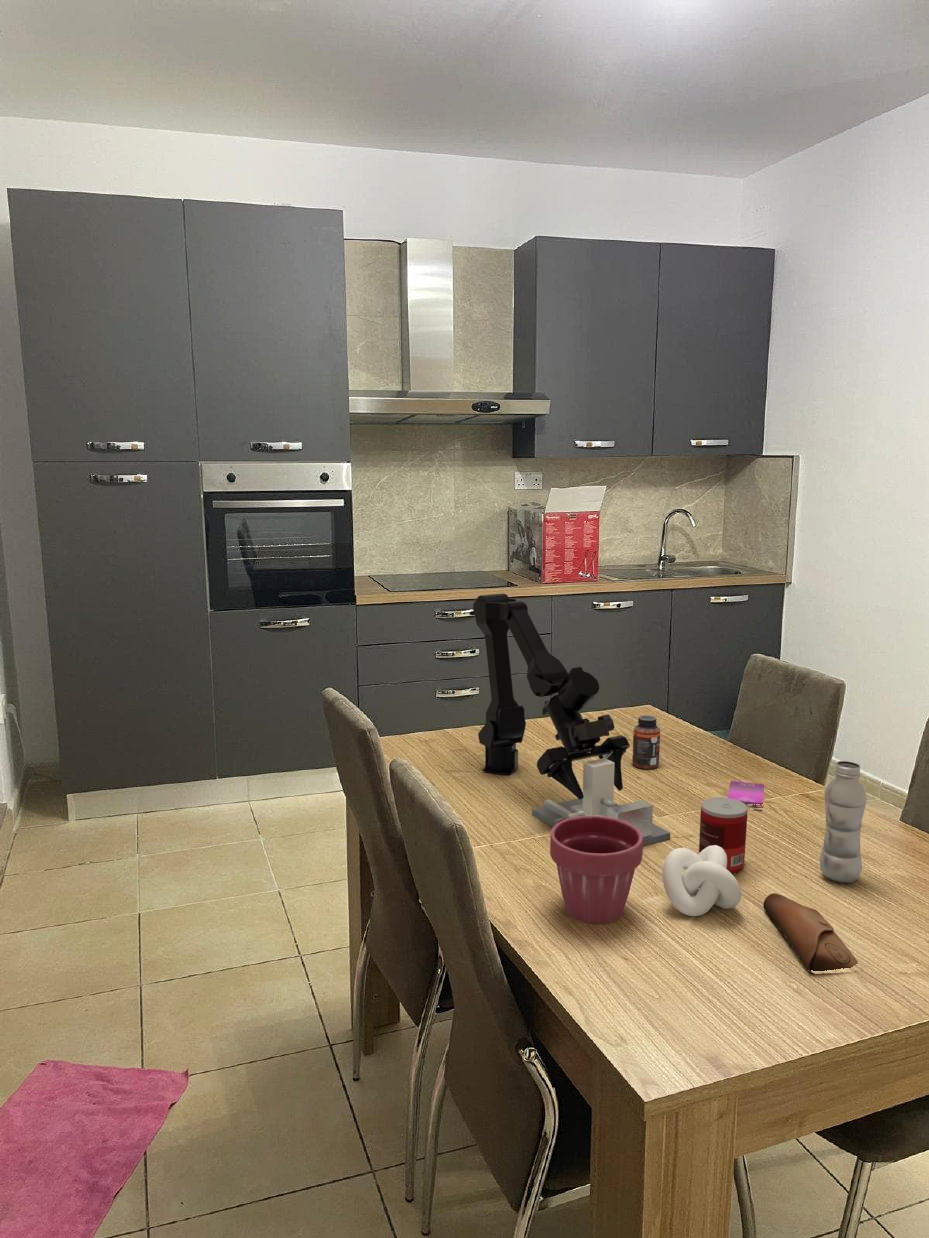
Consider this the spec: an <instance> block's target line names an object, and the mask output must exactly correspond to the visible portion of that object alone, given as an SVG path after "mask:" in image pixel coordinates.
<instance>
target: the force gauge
mask: <svg viewBox="0 0 929 1238" xmlns="http://www.w3.org/2000/svg"><path fill="white" fill-rule="evenodd" d="M614 764H615V763H614V762H612V761H610V760H608V759H606V758H603V759H593V760H589V761H584V762H583V768H582V772H583V773H582V774H583V775H582V792H583V796H584V798H583V804H579V805H575V806H571V807H570V812H572V814H568V816H569V817H574V816H604V817H607V811H608V808H610V807H614V806H615V804H616V803H615V802H614V796H615V795H614V794H615V791H614V790H615V789H614V788H615V785H614Z"/></svg>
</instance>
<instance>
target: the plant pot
mask: <svg viewBox="0 0 929 1238" xmlns="http://www.w3.org/2000/svg"><path fill="white" fill-rule="evenodd" d="M549 839H550V840H549V854H550V858H551V859H552V861H553V862H554V863H555V864H556V869H557V874H558V879H559V884H560V885H559V886H560V891H561V894H562V899H563V905H564V909H565V912H566V913H567V915H569V916H570V917H571V918H573V919H574V920H576V921H579V922H583V923H587V924H593V925H601V924H602V925H603V924H610V923H612V922H615V921H618V920H619V919H620V918H621V917H622V915H624V912H625V908H626V904H627V900H628V897H629V893H630V891H631V886H632V882H633V879H634V875H635V871H636V869H637V868H639V866H640V864H641V863H642V861H643V852H644V851H643V850H644V849H643V847H644V846H643V837H642V834H641V832H640V831H639V830H638V829H637V828H636V827H634V826H633V825H631V824H629V823H627V822H624V821H621V820H618V819H614V818H610V817H604V816H578V817H573V818H569V819H566V820H563V821H561V822H559V823H557V824H556V825H555V826H554V827H551V831H550V837H549Z"/></svg>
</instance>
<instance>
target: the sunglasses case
mask: <svg viewBox="0 0 929 1238" xmlns="http://www.w3.org/2000/svg"><path fill="white" fill-rule="evenodd" d="M762 908H763V909H764V911H765V913H766V914H767V916H768V917H769V918H770V919H771V920H772V921H773V923H774V924H775V925H776V926H777V927H778V929H779V930H780V932H781V934H783V936H784V938H785V939H786V940H787V941H788V943H789V945H790V946H791V948H792V949H793V951H794V952H795V953H796V955H797V956H798V957H799V959H800V961H801V962H802V964H803V965H804V967H805V968H806V969H807V970H808V971H809V972H810V971H811V970H813V971H825V970H826V971H827V970H834V969H835V970H836V969H841V968H843V969H844V968H851V967H853V966H854V965H856V964H858V963H859V962H858V960H857V959H856V957H855V956H854V955H853V953H852V952H851V950H850V949H849V948H848V947H847V946H846V944H845V943H844V942H843V940H842V939H841V938H840V936H838V934H837V933H836V932H835V930H834V927H833V926H832V925H831V923H830V922H829V921H828V920H826V919H825V917H824V916H823V914H821V913H820V911H818V910H817V909H815V908H813V907H809V906H807V905H803V904H801V903H799V902H796V900H793V899H791V898H789V897H786V896H784V895H782V894H779V893H775V892H773V893H770V894H768V895H767V896H766V898H765V899H764V901H763V906H762ZM857 962H858V963H857Z"/></svg>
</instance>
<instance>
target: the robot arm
mask: <svg viewBox="0 0 929 1238" xmlns="http://www.w3.org/2000/svg"><path fill="white" fill-rule="evenodd" d="M472 612H473V614H474V619H475V623H476V625H477V627H478V628H479V630H480V631H481V632H482V633H483V635H484V639H485V640H484V641H485V650H486V659H487V669H488V670H487V671H488V679H489V687H490V688H489V689H490V698H491V701H490V703H489V705H488V708H487V709H486V711H485V724H484V725H483V726H482V728H481V729H480V730H479V732H478V734H477V737H478V741H479V744H481V745H483V746H484V747H485V749H484V751H485V752H484V754H485V755H484V756H485V757H484V758H485V759H484V760H485V761H484V764H485V765H484V767H483V769H482V772H483V773H484V772H485V773H490V774H491V773H492V774H497V775H498V774H499V775H505V776H506V775H507V776H510V775H511V774H513V772H515V770H516V769H517V768H518V767H519V749H518V748H517V744H522V743H523V739H524V735H525V731H526V725H527V721H526V719H525V708H524V706H523V705H519V703H518V701H516V700H515V696H514V690H513V689H514V686H513V678H512V668H511V661H510V659H511V658H510V650H509V649H510V647H509V639H508V638H509V637H508V633H509V631H510V633H511V634H512V637H513V638H514V640H515V642H516V645H517V646H518V648H519V650H520V652H521V654H522V656H523V658H524V661H525V662H526V665H527V671H526V679H527V681H528V684H529V688H530V689H531V691H532V693H533V695H534V696H535V697H539V698H544V697H549V696H552V697H550V699H549V700H545V701H544V705H543V708H542V710H541V711H542V712H541V713H542V715H543V716H545V715H549V717H550V719H551V721H552V724H553V726H554V728H555V730H556V734H555V735H554V737H555V740H556V741H561V744H562V745H563V746H558V747H553V748H552V747H551V748H547V749H545V751H544V752H543V754H542V755H541V756H540V757H539V758H538V759H537V761H536V768H537V769H538V773H539V774H540V775H541V776H542V775H546V777H547V778H552V779H553V780H555V781H556V782H558V783H559V784H560V785H562V786H563V787H564V788H566V789H567V790H568V791H569V793H571V794H573V795H574V796H575V797H576V799H580V800H581V799H583V798H584V796H583V793H582V792H583V789H582V787H581V786H580V783H579V781H578V780H577V777H576V775H575V773H574V770H573V762H575V761H581V760H585V759H589V758H595V757H598V758H599V759H603V758H606V759H608V760H610V761H612V762H614V763H615V764H614V788H616V789H617V790H618V791H619V792H620V791H622V790H623V789H624V784H623V777H622V776H623V775H622V758H623V755H625V754H626V752H627V750H629V748H630V747H631V745H630V742H629V741H628V738H627V737H626V736H625V735H622V734H621V735H620V734H619V735H615V736H610V732H611V731H614V730H615V728H616V727H615V723H614V720H613V718H612V717H611V715H610V714H609V713H608V714H603V715H601V716H598V717H597V720H595V721H594V720H593V721H590V719H588V717H587V718H586V717H585V718H583V716H582V714H581V712H580V711H582V710H584V709H585V708H586V707H587V705H588V704H589V703H590V702H591V701H592V700H593V699H594V697H595V696H596V695H597V694H598V693H599V691H600V684H599V681H598V680H597V678H595V677H594V675H592V674H591V673H589V672H588V671H587V672H586V671H584V670H583V668H582V666H576V667H572V668H571V669H570V671H569V672H568V671H567V668H565V666H564V664H563V663H562V662H561V661H560V659H559V658H557V657H555V656H553V654H551V653H550V652H549V651H548V648H547V646H546V645H545V643H544V641H543V639H542V637H541V635H540V634H539V631H538V630H537V627H536V626H535V624H534V622H533V620H532V618H531V616H530V614H529V610H528V605H527V603H526V602H524V601H521V600H519V599H517V598H514V597H513V598H512V597H509V596H508V595H507V594H506V593H505V592H504V593H495V594H494V593H493V594H492V593H491V594H482V595H478V597H477V598H476V600H475V601H474V602H473V604H472ZM609 736H610V737H609ZM602 737H607V738H606V739H605V740H604V741H603V742H602V743H601V744H600V745H596V744H598V743H599V742H600V741H601V738H602Z"/></svg>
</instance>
